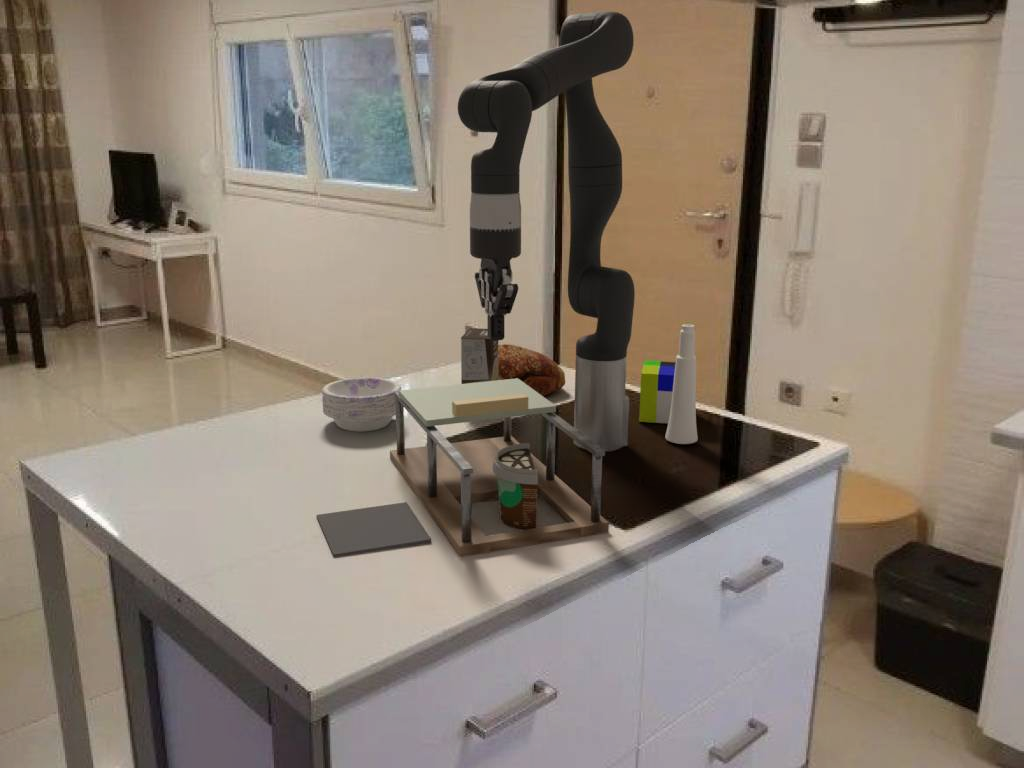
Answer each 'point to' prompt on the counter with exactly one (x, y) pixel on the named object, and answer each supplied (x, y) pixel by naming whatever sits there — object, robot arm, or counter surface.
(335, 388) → the paper bowls
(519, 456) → the food container
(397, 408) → the cover rails
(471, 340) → the coffee box
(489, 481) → the wooden base board
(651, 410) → the puzzle toy
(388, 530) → the charcoal mat
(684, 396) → the cosmetic bottle
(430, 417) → the sliding cover
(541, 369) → the bread
